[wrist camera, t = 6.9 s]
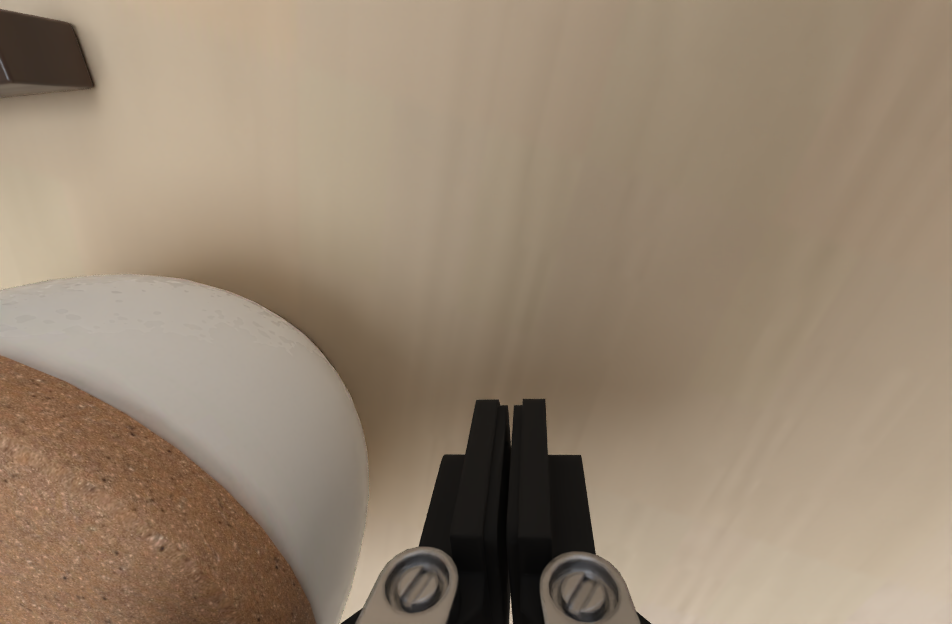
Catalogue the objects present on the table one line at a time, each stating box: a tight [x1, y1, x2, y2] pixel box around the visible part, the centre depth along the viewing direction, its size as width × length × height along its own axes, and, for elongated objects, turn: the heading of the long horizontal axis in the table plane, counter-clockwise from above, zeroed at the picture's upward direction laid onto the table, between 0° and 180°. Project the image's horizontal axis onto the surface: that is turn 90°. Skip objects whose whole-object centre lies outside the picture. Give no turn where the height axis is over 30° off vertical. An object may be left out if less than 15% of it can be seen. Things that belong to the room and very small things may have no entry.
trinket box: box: [0, 274, 369, 624], centre depth 10 cm, size 11×11×9 cm
